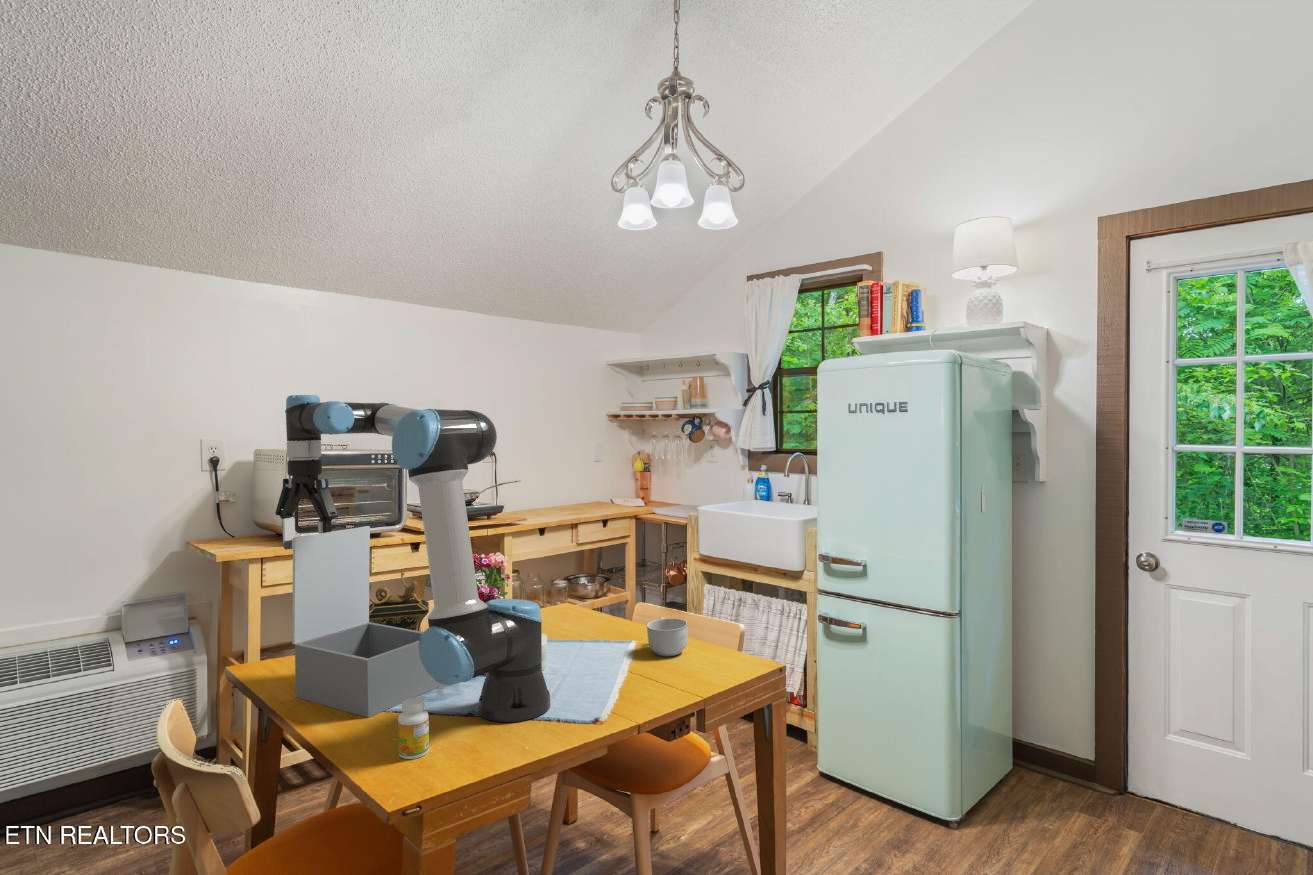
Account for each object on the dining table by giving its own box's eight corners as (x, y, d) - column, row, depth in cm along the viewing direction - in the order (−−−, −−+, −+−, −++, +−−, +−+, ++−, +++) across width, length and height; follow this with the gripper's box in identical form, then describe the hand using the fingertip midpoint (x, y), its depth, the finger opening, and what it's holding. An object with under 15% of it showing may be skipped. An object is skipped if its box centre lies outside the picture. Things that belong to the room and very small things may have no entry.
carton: (440, 686, 166) (439, 635, 166) (368, 717, 149) (367, 660, 149) (370, 669, 178) (369, 622, 178) (295, 697, 160) (294, 644, 160)
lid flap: (369, 526, 177) (346, 522, 181) (295, 538, 159) (270, 533, 163) (368, 622, 178) (345, 616, 182) (294, 644, 160) (270, 637, 164)
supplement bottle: (393, 753, 133) (392, 701, 132) (420, 743, 136) (419, 693, 136) (406, 762, 129) (405, 709, 129) (434, 752, 133) (433, 701, 132)
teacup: (688, 659, 184) (688, 628, 183) (646, 659, 184) (646, 628, 184) (686, 642, 197) (686, 614, 197) (647, 643, 198) (647, 614, 197)
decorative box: (429, 636, 206) (428, 568, 206) (429, 645, 197) (427, 574, 197) (354, 643, 200) (353, 573, 200) (350, 653, 191) (349, 580, 191)
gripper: (352, 458, 170) (354, 547, 170) (286, 457, 182) (289, 540, 182) (324, 460, 163) (326, 552, 164) (258, 459, 175) (260, 545, 176)
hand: (306, 546), depth 173 cm, fingers open, 13 cm apart
